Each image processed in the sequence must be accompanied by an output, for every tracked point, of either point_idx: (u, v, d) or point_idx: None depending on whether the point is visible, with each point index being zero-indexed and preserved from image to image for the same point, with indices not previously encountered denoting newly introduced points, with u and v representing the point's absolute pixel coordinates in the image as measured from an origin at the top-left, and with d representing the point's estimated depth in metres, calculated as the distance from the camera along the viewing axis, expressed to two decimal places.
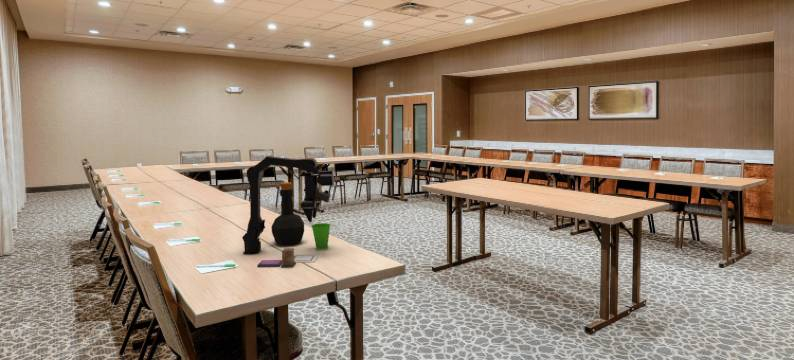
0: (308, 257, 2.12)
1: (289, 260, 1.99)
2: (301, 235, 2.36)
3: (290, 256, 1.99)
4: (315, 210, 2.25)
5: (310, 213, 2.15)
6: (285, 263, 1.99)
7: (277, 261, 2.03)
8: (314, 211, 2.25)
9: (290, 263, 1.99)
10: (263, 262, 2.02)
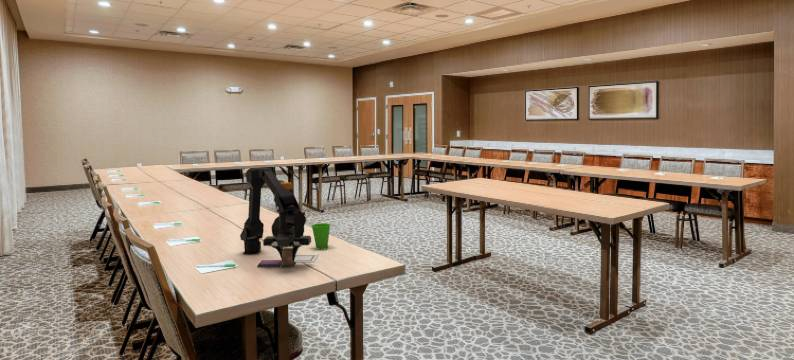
0: (308, 257, 2.12)
1: (289, 260, 1.99)
2: (301, 235, 2.36)
3: (290, 256, 1.99)
4: (293, 252, 2.00)
5: None
6: (285, 263, 1.99)
7: (277, 261, 2.03)
8: (293, 253, 2.00)
9: (290, 263, 1.99)
10: (263, 262, 2.02)
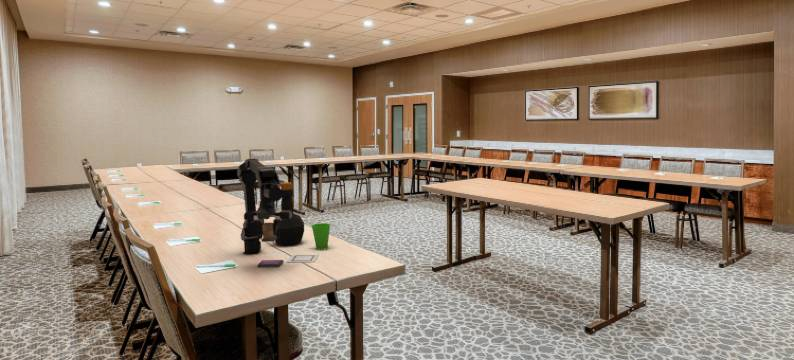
0: (308, 257, 2.12)
1: (270, 234, 2.00)
2: (301, 235, 2.36)
3: (271, 230, 2.00)
4: None
5: None
6: (266, 237, 2.00)
7: (277, 261, 2.03)
8: None
9: (271, 237, 2.00)
10: (263, 262, 2.02)
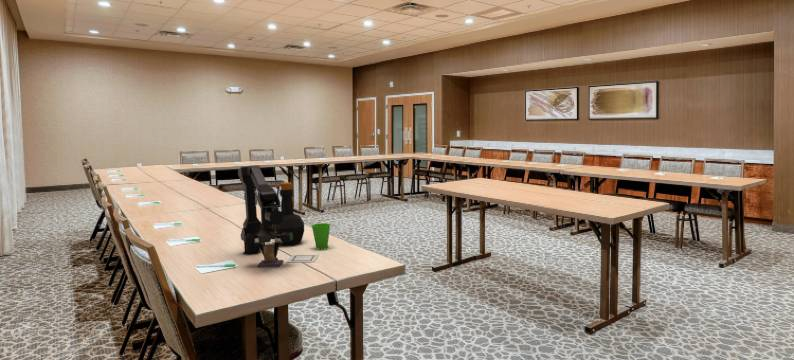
0: (308, 257, 2.12)
1: (271, 256, 2.01)
2: (301, 235, 2.36)
3: (272, 252, 2.01)
4: None
5: None
6: (267, 259, 2.01)
7: (277, 261, 2.03)
8: None
9: (272, 259, 2.01)
10: None
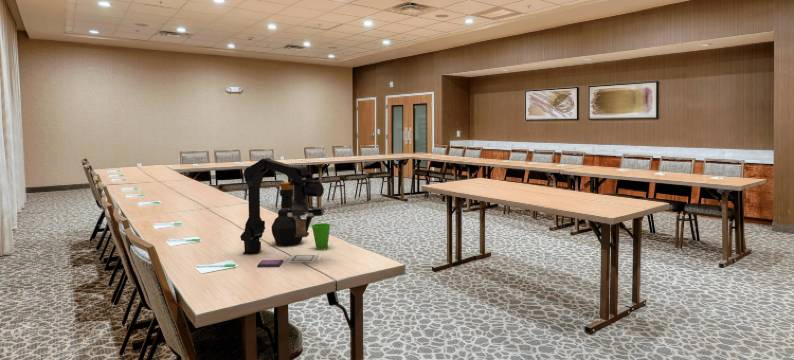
0: (308, 257, 2.12)
1: (303, 230, 2.07)
2: None
3: (304, 226, 2.07)
4: None
5: None
6: (299, 233, 2.08)
7: (277, 261, 2.03)
8: None
9: (304, 233, 2.07)
10: (263, 262, 2.02)
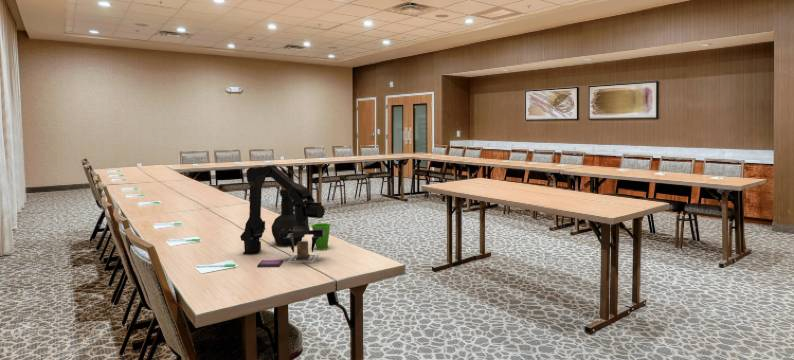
0: None
1: (304, 252, 2.09)
2: None
3: (305, 249, 2.08)
4: (312, 244, 2.10)
5: None
6: (300, 255, 2.09)
7: (277, 261, 2.03)
8: (312, 245, 2.10)
9: (305, 255, 2.09)
10: (263, 262, 2.02)
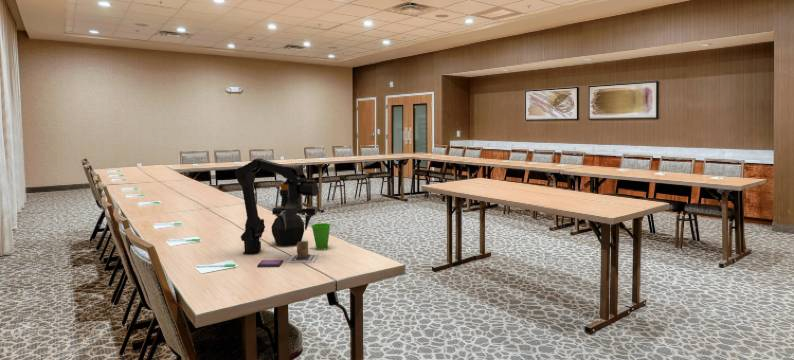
0: None
1: (304, 252, 2.09)
2: (301, 235, 2.36)
3: (305, 249, 2.08)
4: None
5: None
6: (300, 255, 2.09)
7: (277, 261, 2.03)
8: None
9: (305, 255, 2.09)
10: (263, 262, 2.02)
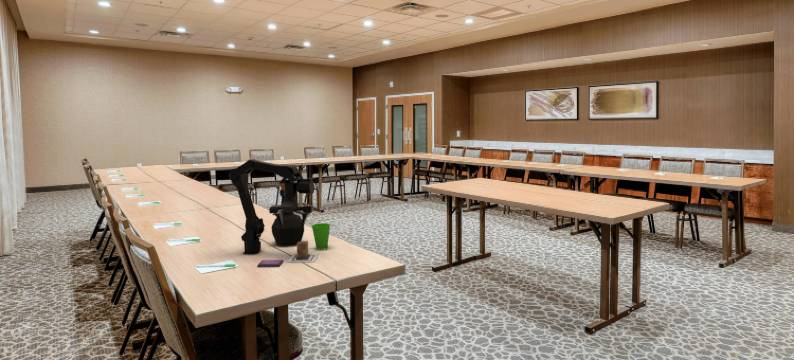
0: None
1: (304, 252, 2.09)
2: (301, 235, 2.36)
3: (305, 249, 2.08)
4: (302, 220, 2.16)
5: None
6: (300, 255, 2.09)
7: (277, 261, 2.03)
8: (302, 221, 2.17)
9: (305, 255, 2.09)
10: (263, 262, 2.02)
